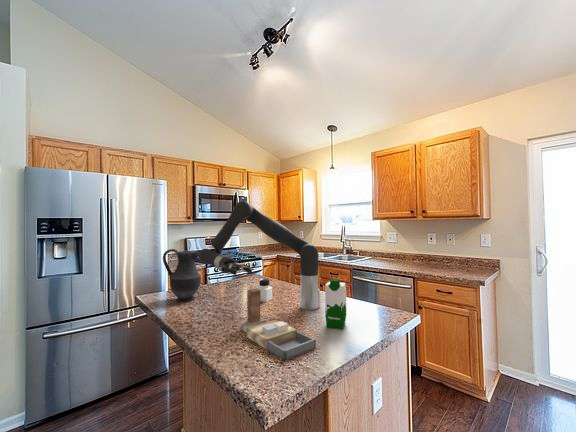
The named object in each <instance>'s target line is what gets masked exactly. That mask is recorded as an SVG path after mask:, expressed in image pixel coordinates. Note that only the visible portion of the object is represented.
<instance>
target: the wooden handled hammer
mask: <svg viewBox="0 0 576 432" xmlns="http://www.w3.org/2000/svg"><path fill="white" fill-rule="evenodd" d="M246 292H247V293H246V295H247V297H246V299H247V301H246V303H247V307H246V309H247V310H246V311H247V314H246V315H247V319H246V320H244V321H241V322H240V329H241V330H240V331H243V332H244V333H247V328H248V327H251V326H255V325H258V324H262V323H266V322H267V318H264V317H262V316H261V301H260V290H258V289H256V288H250V289H247V291H246Z"/></svg>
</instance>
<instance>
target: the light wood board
mask: <svg viewBox="0 0 576 432" xmlns="http://www.w3.org/2000/svg"><path fill="white" fill-rule="evenodd" d="M277 322H280V321H279V320H277V319H273V320H270V321H266V323H262V324H258V325H255V326H251V327H248V328H247V332H246V338H247V339H249V340H251V341H253V342H254V343H256V344H257V345H259V346H260V347H262V348H264V349H265V350H267V341H271V342H272V343H274V344H276V345H279V344H282V343H285V342H288V341H290V340H293V339H296V332H297V331H298V329H297V328H295V327H292V326H291V325H288V329H287V330H284V331H281V332H279V331H277V333H275V334H272V335H267V334H265V333H263V332H262V327H263V326H267V325H270V324H272V325H274V323H277Z"/></svg>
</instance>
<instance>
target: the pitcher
mask: <svg viewBox="0 0 576 432" xmlns="http://www.w3.org/2000/svg"><path fill="white" fill-rule="evenodd" d="M171 252H174V253H175V254H176V255H177V260H178V263H177V266H176V268H175V271H173V272H172V270H171V268H170V266H169V263H168V262H167V259H166V258H167V257H166V256H167V254H169V253H171ZM199 252H200V251H198V250H181V251H180V250H179V251H178V250H177V249H174V248H170V249H167V250H166V251H165V252H164V253H163V254H162V255H163V256H162V262H163V265H164V267H165V269H166V270H167V271H166V272H167V273H168V275H169V286H170V290H171V292H172V293H173V295H175V296H176V298H177V299H176V302H177V301H178V302H177V303H188V301H190V302H192V300H193V301H194V300H195V297H194V295H195V293H197V292H198V290H199V289H200V287H201V281H202V276H201V274H200V273H199V271H198V269H197V265H196V260H197V258H199Z"/></svg>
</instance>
